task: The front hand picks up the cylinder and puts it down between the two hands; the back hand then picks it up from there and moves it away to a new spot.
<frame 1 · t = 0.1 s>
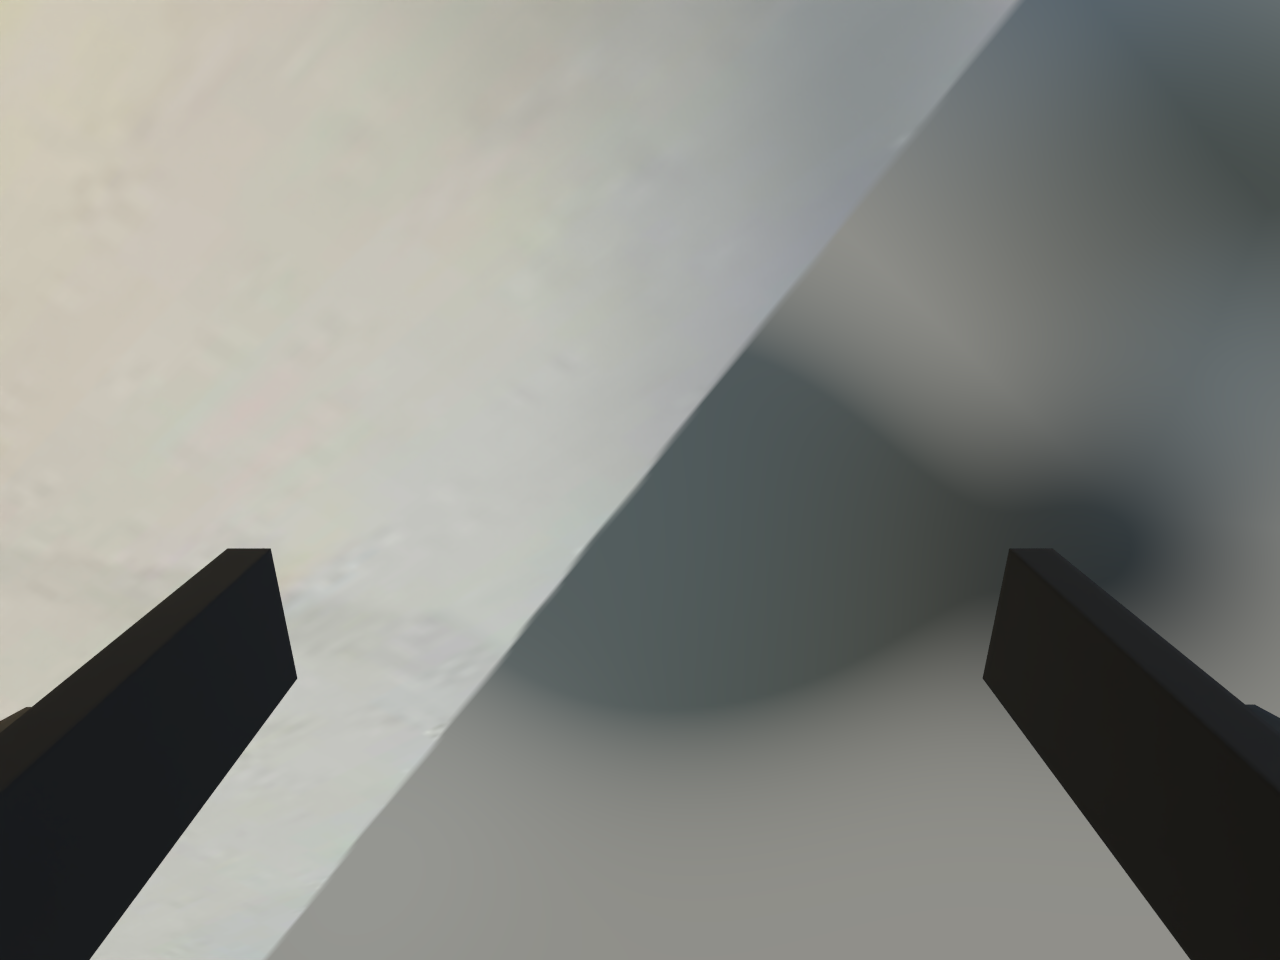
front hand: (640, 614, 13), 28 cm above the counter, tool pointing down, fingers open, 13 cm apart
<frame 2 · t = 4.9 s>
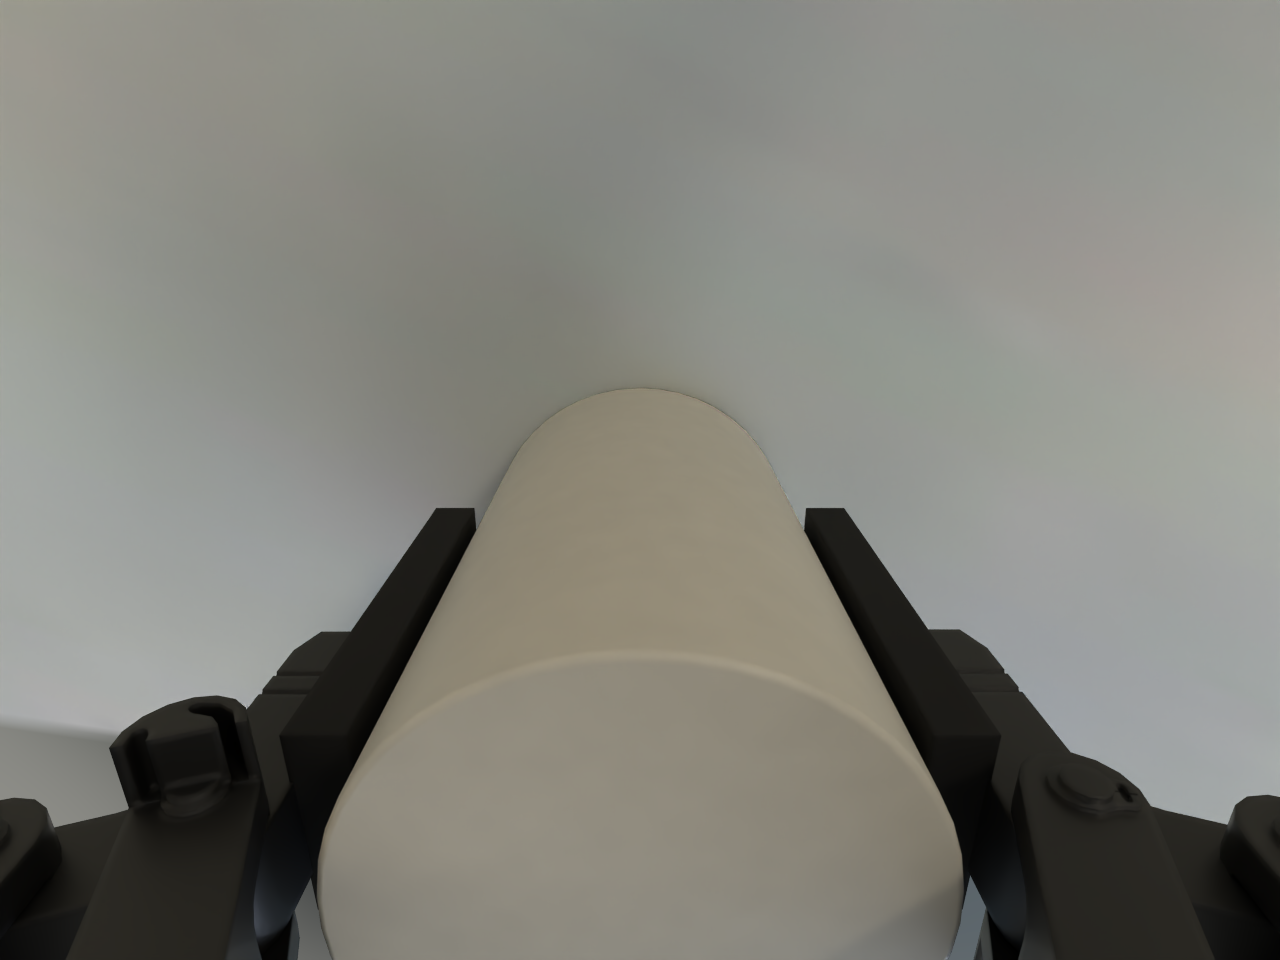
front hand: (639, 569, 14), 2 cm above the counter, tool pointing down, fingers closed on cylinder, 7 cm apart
cylinder: (640, 525, 16), on the counter, touching front hand
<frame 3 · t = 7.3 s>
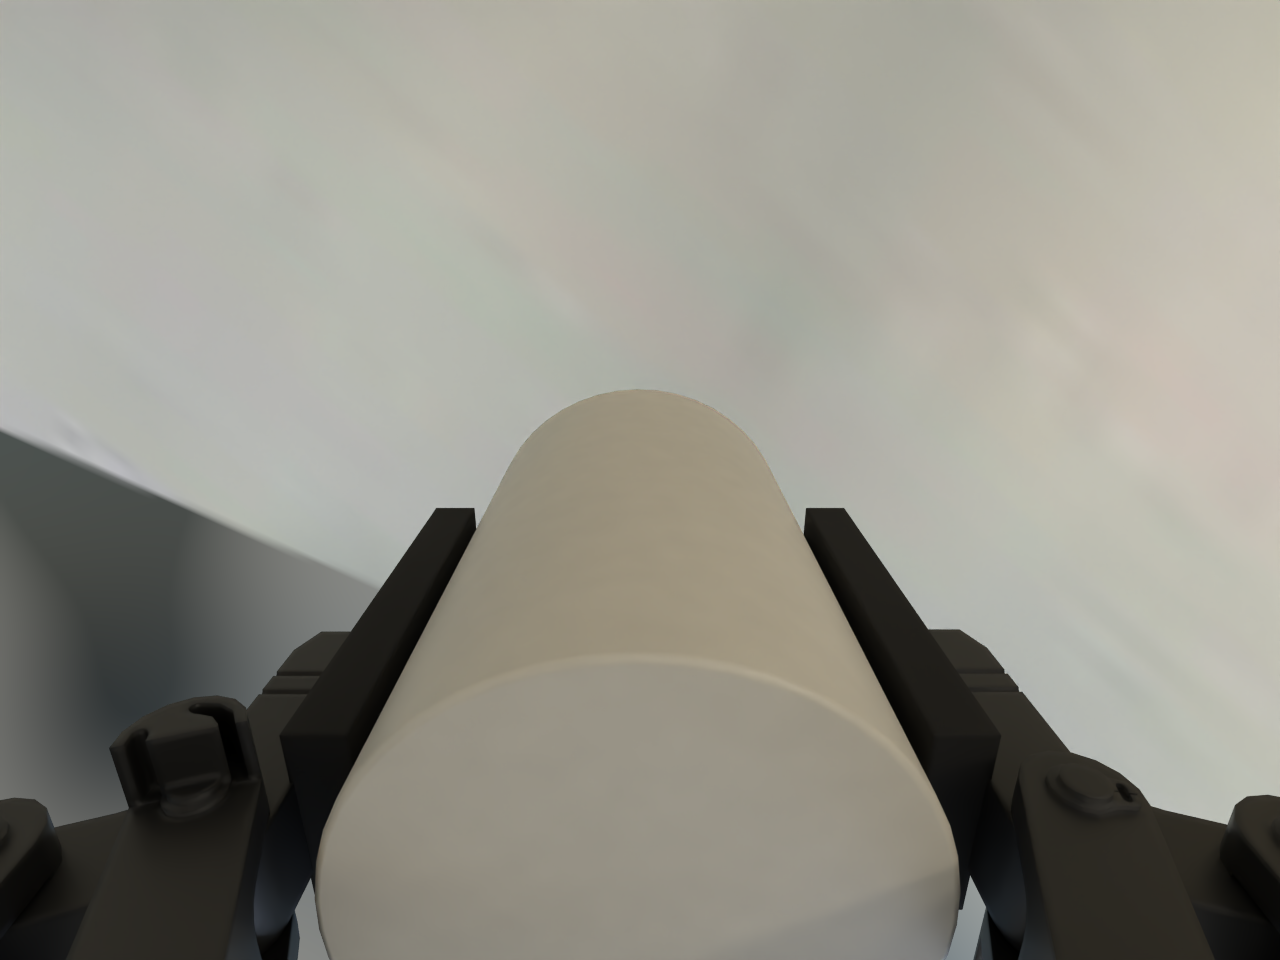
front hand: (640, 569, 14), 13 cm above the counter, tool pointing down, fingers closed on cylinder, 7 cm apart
cylinder: (638, 526, 16), point 11 cm above the counter, touching front hand
when the front hand's fingers open (4 cm above the counter, at t = 9.8 s): cylinder drops 2 cm, on the counter.
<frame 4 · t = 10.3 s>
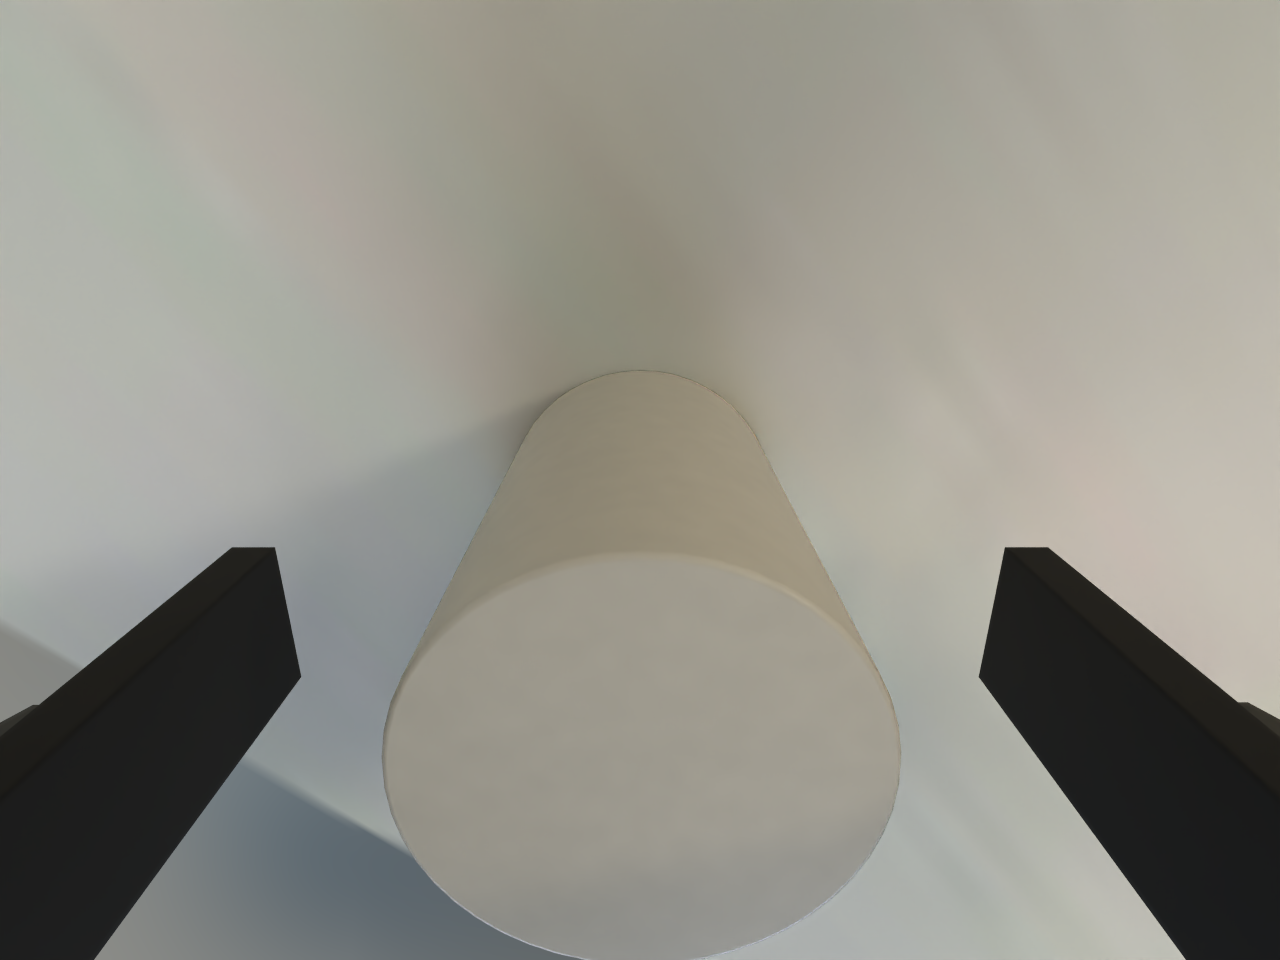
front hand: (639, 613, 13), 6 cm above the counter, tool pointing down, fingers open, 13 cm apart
cylinder: (640, 496, 18), on the counter
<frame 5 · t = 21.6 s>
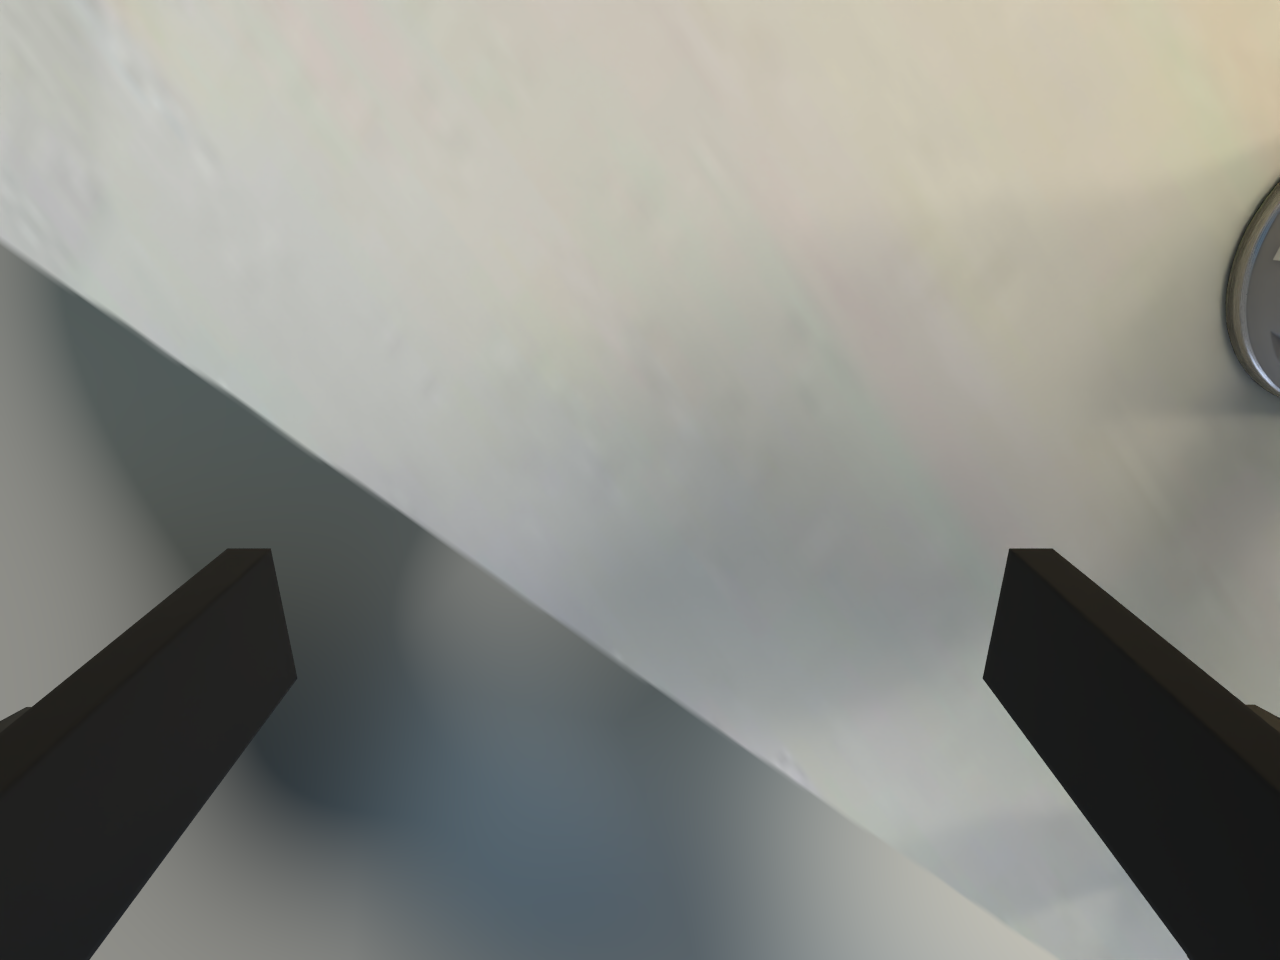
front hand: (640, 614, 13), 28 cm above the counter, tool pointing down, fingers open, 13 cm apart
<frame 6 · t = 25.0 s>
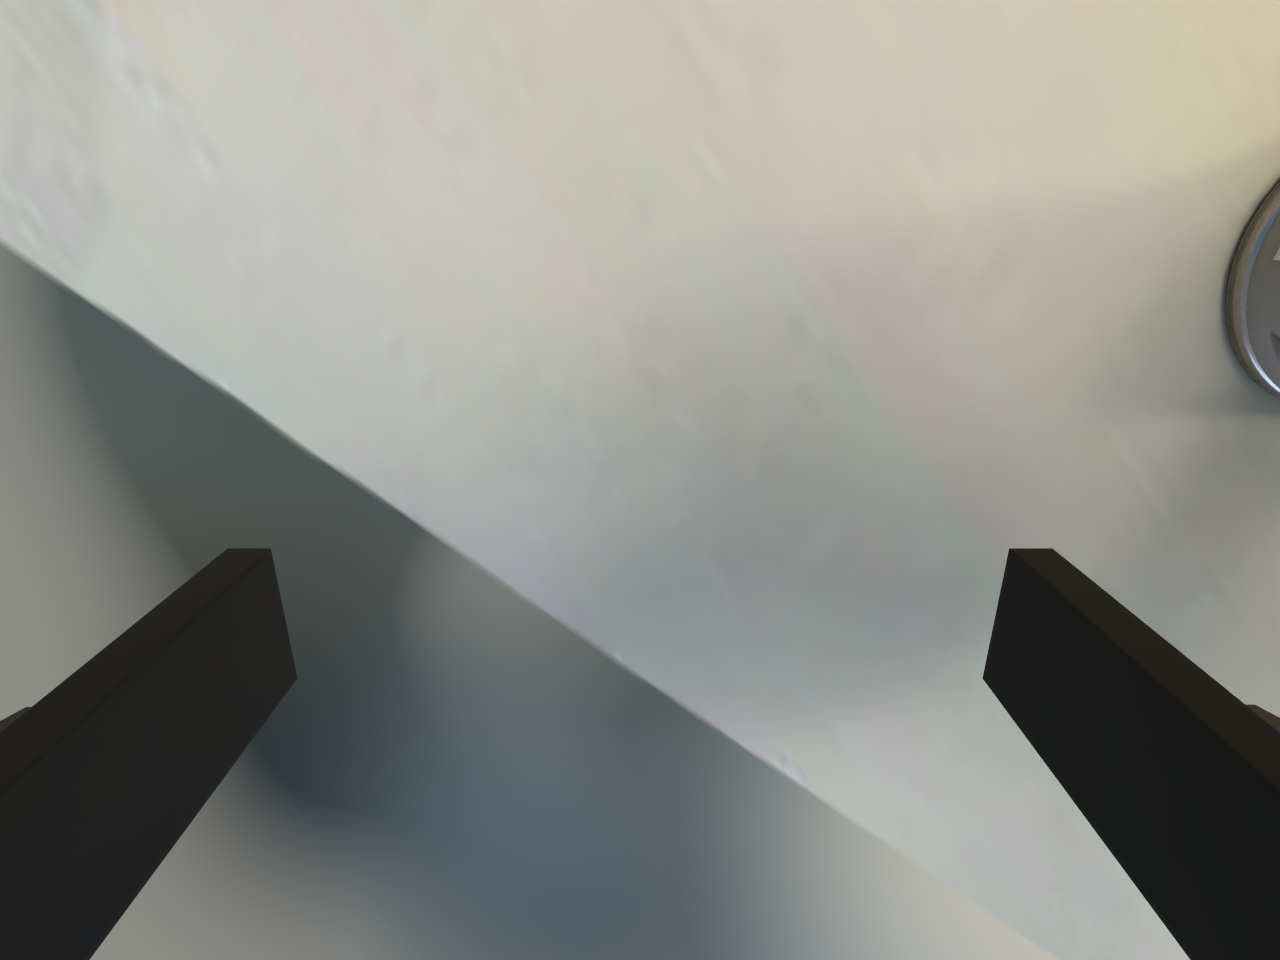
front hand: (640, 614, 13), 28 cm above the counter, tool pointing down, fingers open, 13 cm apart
when the back hand's fingers open (4 cm above the counter, at t = 28.6 s): cylinder drops 2 cm, on the counter.
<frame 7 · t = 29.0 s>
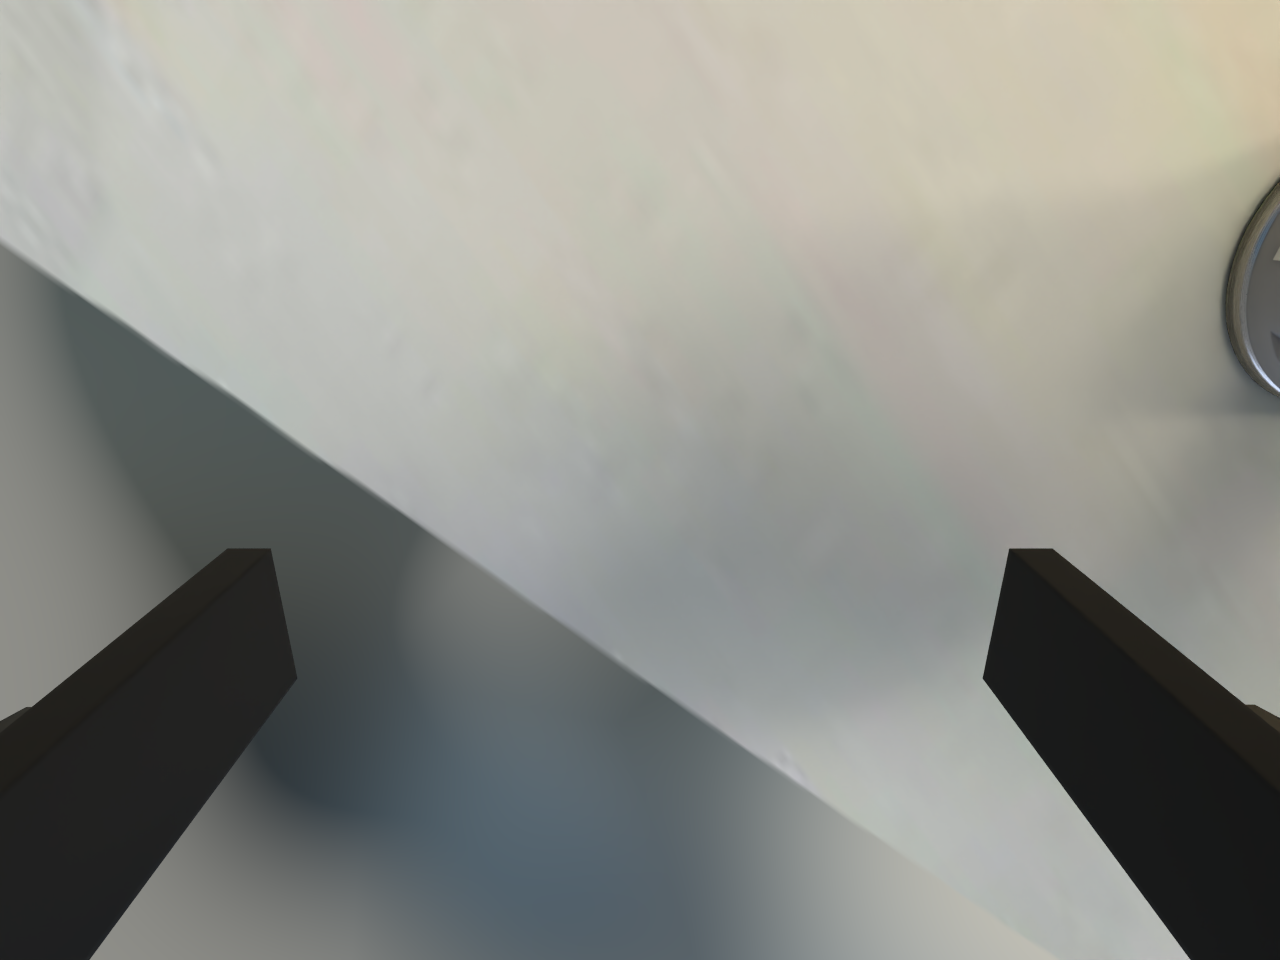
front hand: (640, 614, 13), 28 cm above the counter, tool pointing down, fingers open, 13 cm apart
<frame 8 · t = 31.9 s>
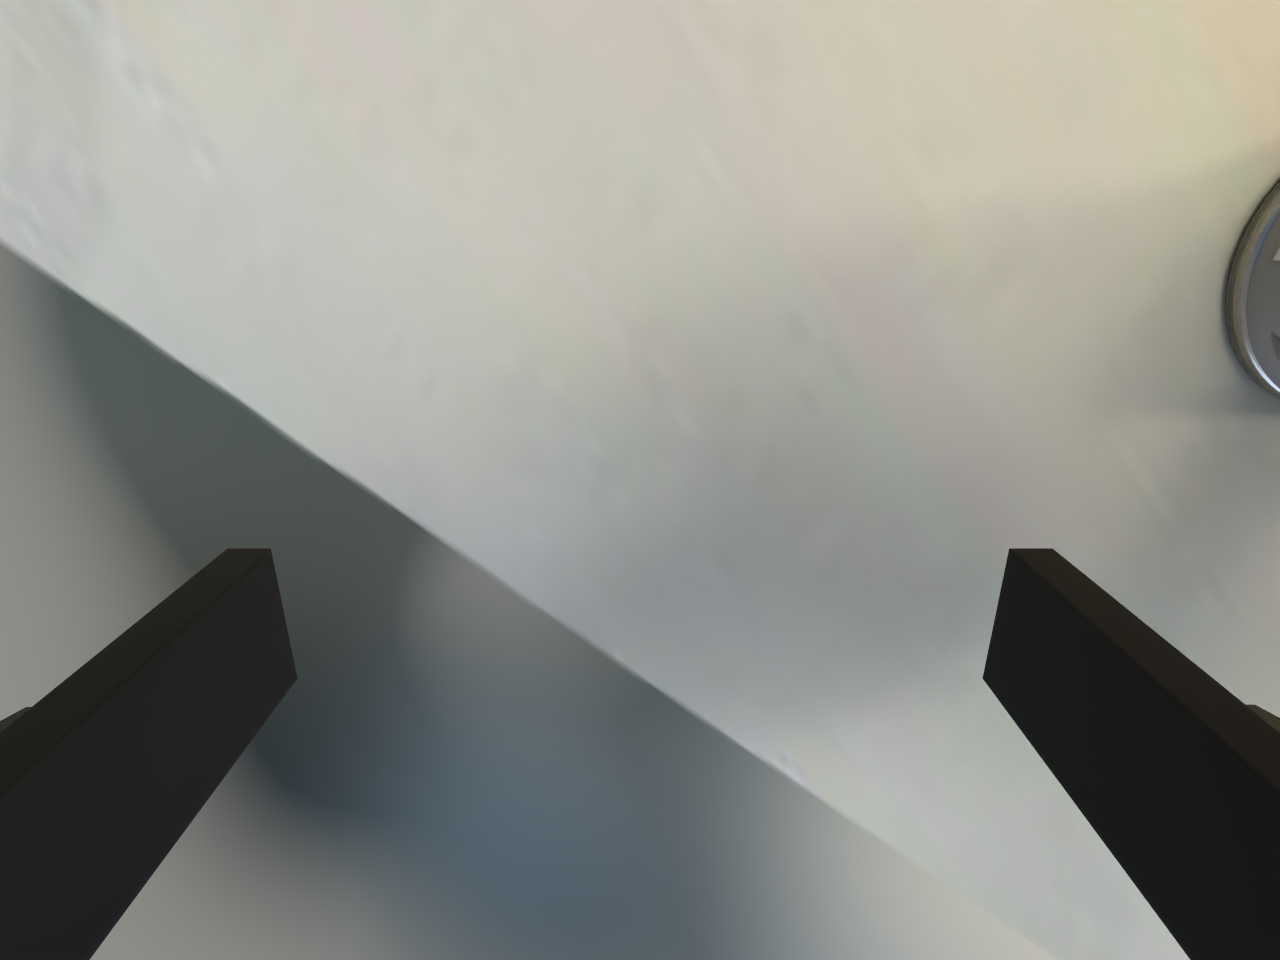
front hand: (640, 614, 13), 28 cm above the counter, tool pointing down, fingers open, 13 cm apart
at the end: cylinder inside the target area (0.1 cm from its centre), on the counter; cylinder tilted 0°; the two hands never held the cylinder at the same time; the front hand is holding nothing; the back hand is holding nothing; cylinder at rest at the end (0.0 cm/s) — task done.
